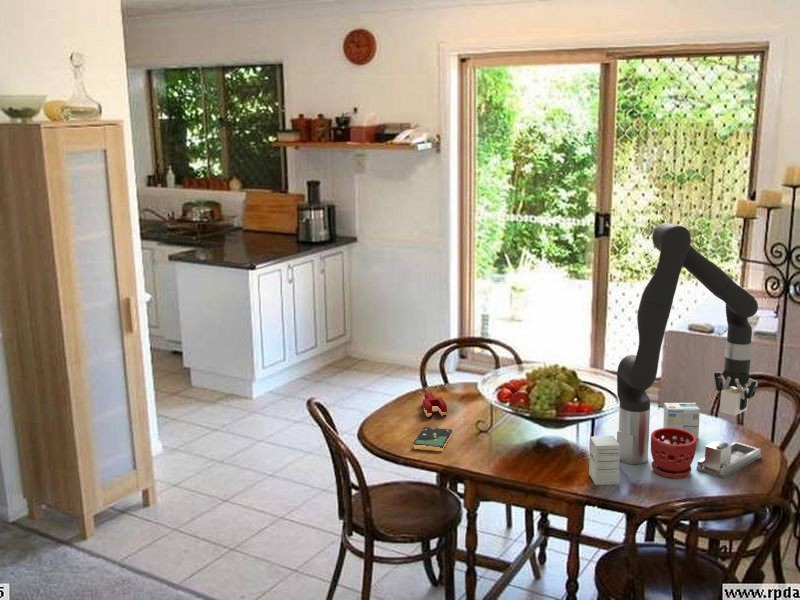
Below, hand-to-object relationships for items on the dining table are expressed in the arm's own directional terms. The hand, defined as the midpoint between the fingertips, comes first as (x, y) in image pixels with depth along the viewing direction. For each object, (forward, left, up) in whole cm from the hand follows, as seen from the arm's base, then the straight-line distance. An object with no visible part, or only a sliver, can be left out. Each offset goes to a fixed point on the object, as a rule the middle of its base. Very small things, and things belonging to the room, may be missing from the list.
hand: (733, 406), depth 265 cm
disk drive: (-64, +72, -16) cm, 97 cm away
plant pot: (-27, +4, -15) cm, 31 cm away
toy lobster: (-44, +94, -15) cm, 105 cm away
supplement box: (-46, +15, -15) cm, 51 cm away
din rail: (-9, -4, -15) cm, 18 cm away
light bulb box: (0, +18, -15) cm, 24 cm away
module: (0, 0, -1) cm, 1 cm away
